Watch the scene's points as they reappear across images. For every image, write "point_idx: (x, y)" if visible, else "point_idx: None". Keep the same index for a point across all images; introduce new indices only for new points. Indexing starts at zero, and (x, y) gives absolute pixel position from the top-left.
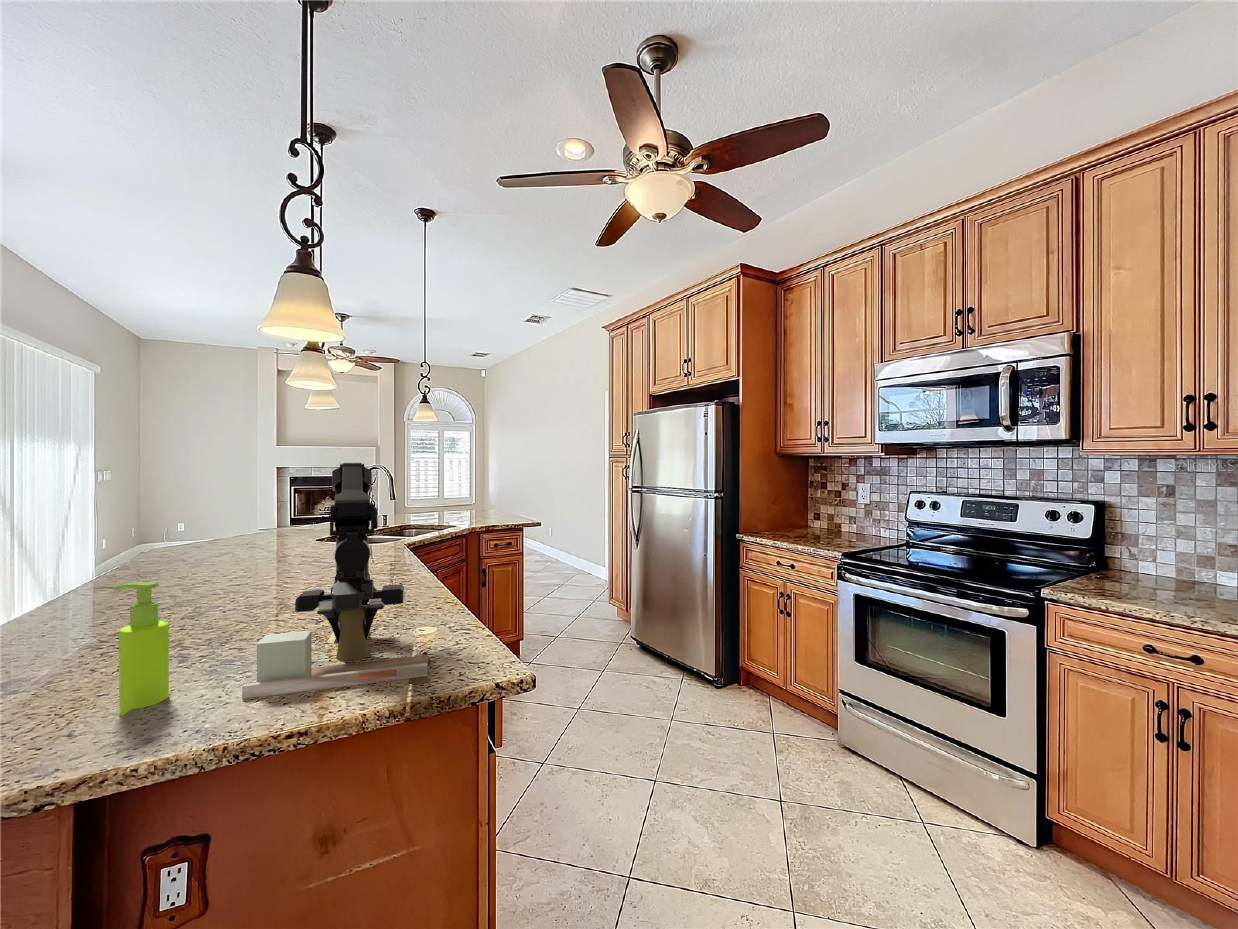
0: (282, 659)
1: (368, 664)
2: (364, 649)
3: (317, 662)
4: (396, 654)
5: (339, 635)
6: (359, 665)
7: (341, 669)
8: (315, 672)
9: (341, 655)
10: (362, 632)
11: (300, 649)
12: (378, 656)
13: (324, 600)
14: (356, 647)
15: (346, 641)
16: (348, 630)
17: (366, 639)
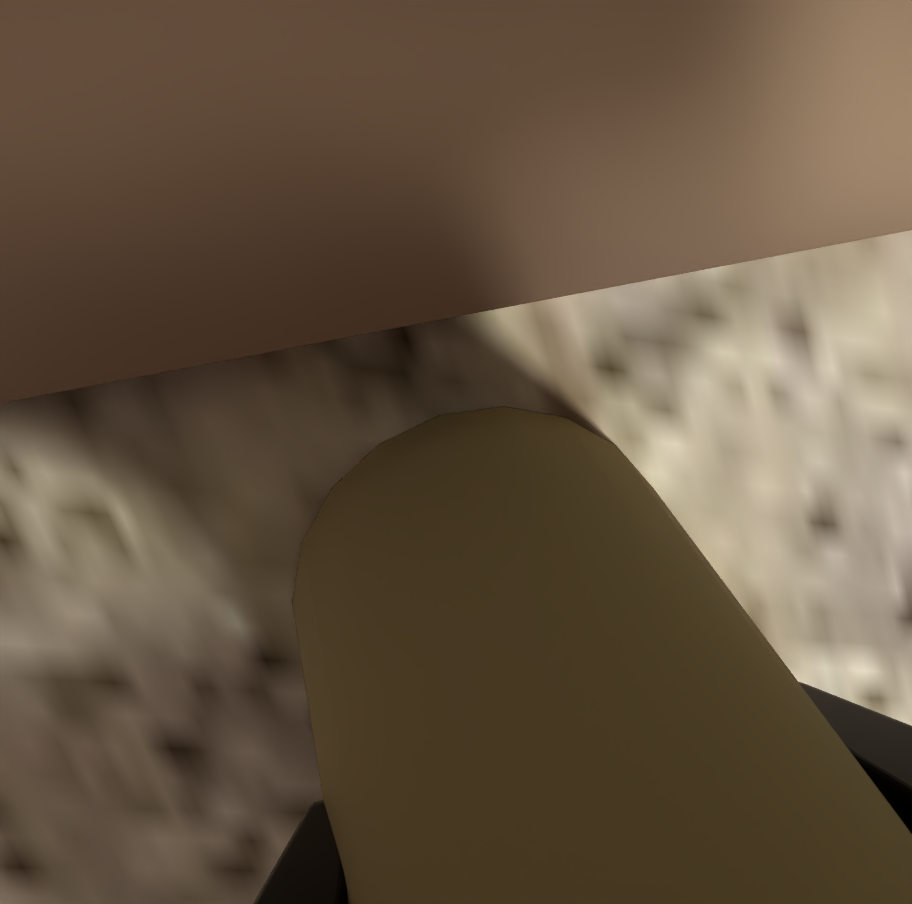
0: None
1: (120, 222)
2: (322, 634)
3: (874, 609)
4: (3, 799)
5: (863, 759)
6: (259, 198)
7: (492, 61)
8: (839, 4)
9: (629, 487)
10: (371, 878)
11: None
12: (225, 744)
13: None
14: (427, 567)
15: (644, 596)
16: (725, 788)
17: (311, 806)
